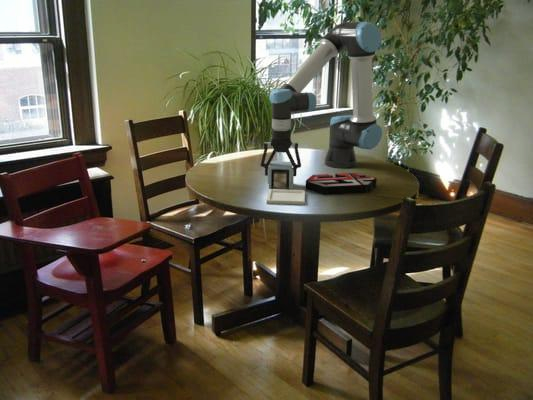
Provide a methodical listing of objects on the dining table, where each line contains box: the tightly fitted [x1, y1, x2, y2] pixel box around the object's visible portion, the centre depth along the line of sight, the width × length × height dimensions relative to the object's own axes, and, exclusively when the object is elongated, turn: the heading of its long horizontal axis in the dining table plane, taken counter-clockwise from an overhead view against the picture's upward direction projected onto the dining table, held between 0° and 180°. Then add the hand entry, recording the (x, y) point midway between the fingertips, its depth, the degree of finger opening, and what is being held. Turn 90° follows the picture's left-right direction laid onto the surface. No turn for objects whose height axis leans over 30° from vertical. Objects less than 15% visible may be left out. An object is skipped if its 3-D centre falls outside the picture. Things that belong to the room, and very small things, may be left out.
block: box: [273, 171, 288, 189], centre depth 218 cm, size 5×5×6 cm
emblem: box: [305, 172, 378, 196], centre depth 218 cm, size 18×4×30 cm
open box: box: [268, 160, 293, 190], centre depth 217 cm, size 9×9×9 cm
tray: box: [266, 188, 306, 206], centre depth 203 cm, size 14×14×1 cm
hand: (280, 183), depth 218 cm, fingers closed on open box, 9 cm apart
